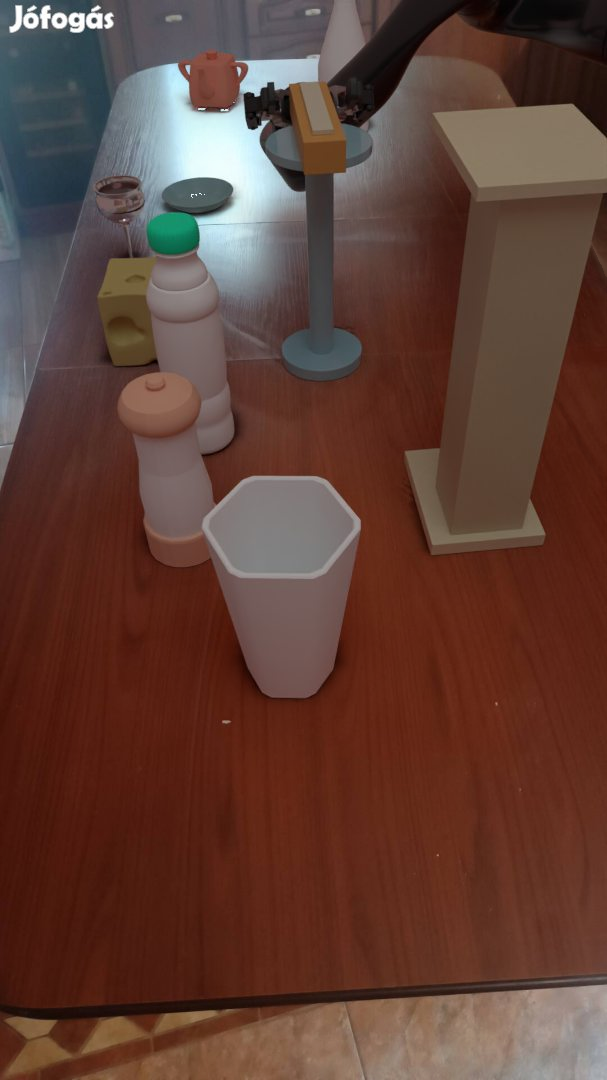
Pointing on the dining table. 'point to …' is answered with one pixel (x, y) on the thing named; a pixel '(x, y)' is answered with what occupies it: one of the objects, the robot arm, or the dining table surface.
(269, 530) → the cup
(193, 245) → the water bottle
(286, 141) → the cake stand
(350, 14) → the wine bottle
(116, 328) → the cheese
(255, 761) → the dining table surface
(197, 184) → the saucer
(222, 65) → the brown sugar bowl
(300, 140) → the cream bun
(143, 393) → the salt shaker
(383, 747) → the dining table surface
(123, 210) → the wineglass
